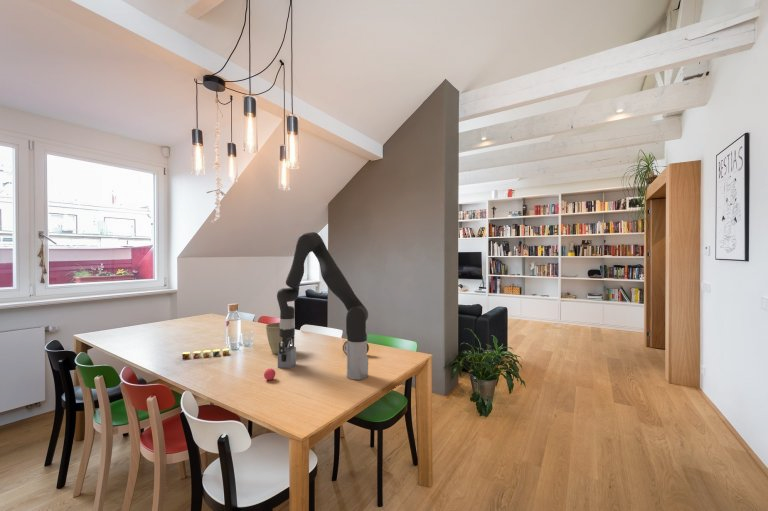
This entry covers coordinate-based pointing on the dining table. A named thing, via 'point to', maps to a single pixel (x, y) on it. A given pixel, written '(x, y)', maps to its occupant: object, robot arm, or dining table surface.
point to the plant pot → (273, 336)
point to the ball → (269, 374)
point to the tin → (346, 347)
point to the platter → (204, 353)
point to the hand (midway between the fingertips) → (286, 359)
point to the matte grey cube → (288, 358)
